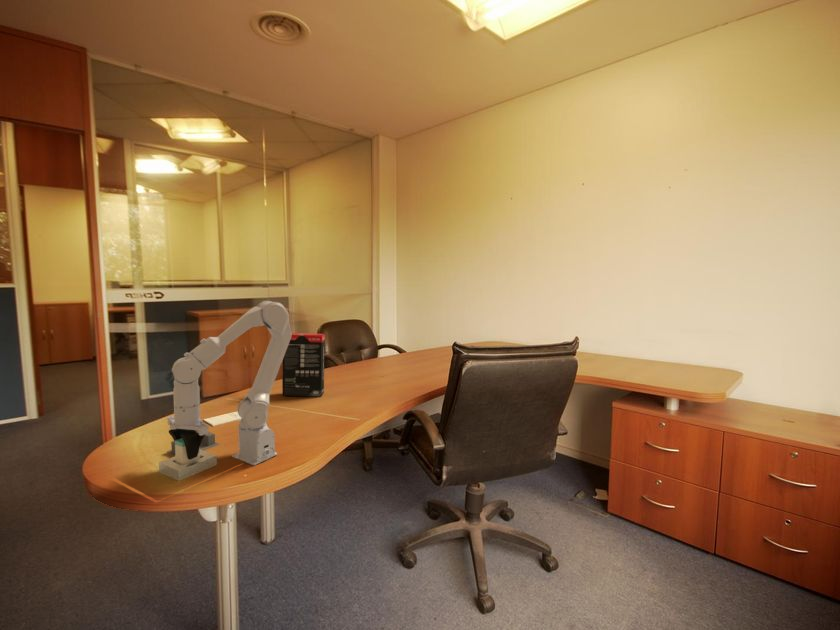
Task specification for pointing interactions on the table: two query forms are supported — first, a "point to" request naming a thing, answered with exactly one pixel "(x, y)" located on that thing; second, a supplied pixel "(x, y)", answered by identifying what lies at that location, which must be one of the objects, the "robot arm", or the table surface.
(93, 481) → the table surface
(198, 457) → the plug
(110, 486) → the table surface
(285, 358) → the graphics card box
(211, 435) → the holster
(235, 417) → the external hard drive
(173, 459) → the port
